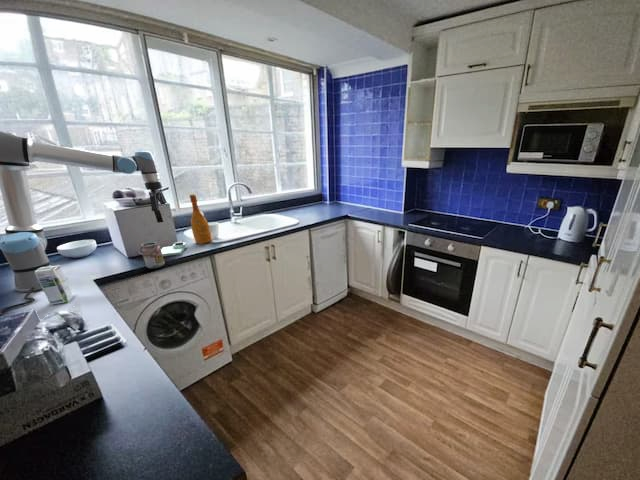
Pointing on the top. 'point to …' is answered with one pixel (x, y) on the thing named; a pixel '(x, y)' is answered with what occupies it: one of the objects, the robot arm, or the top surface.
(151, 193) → the robot arm
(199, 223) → the wine bottle
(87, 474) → the top surface
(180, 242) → the tare button
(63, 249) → the cereal bowl
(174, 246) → the scale
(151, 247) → the glass clasp jar
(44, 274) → the syrup box
